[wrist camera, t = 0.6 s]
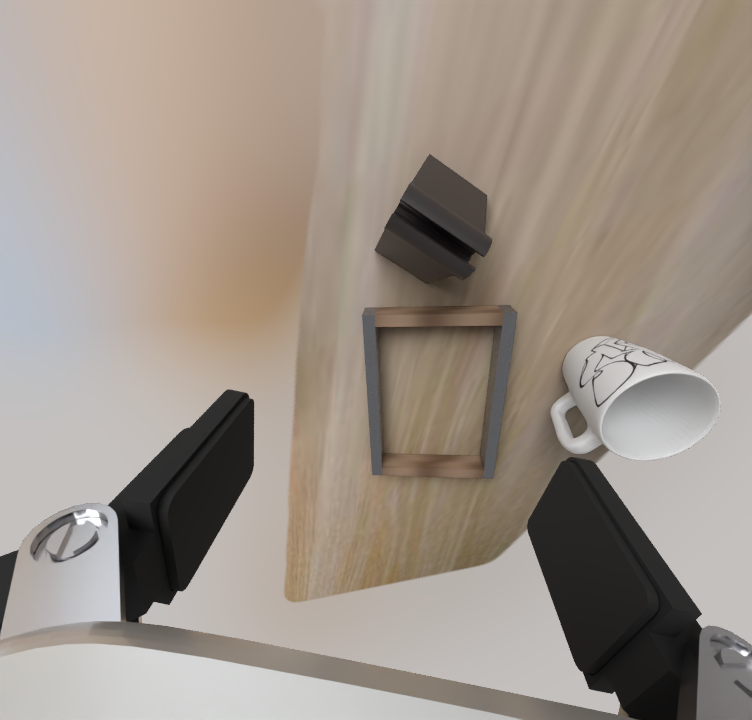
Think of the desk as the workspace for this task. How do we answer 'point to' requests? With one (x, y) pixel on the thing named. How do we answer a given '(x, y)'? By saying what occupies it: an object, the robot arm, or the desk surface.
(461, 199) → the phone stand
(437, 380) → the desk surface
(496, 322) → the wooden frame
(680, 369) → the mug
